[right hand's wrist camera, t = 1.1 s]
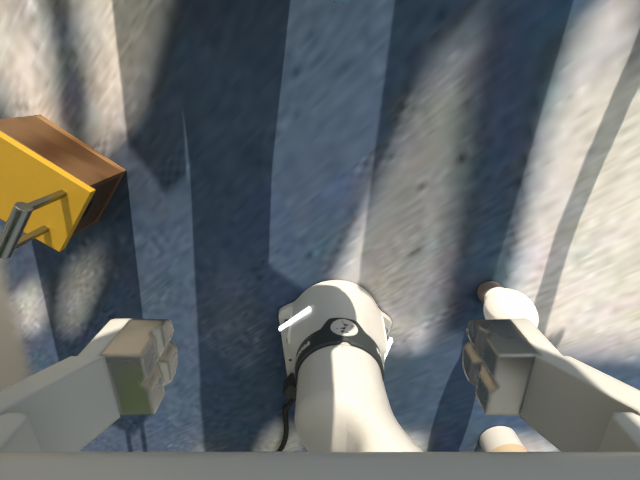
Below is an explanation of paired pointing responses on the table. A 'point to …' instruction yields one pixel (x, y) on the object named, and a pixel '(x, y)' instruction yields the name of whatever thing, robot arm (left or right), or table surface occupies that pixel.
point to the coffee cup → (500, 440)
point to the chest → (68, 160)
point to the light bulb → (506, 303)
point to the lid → (37, 199)
